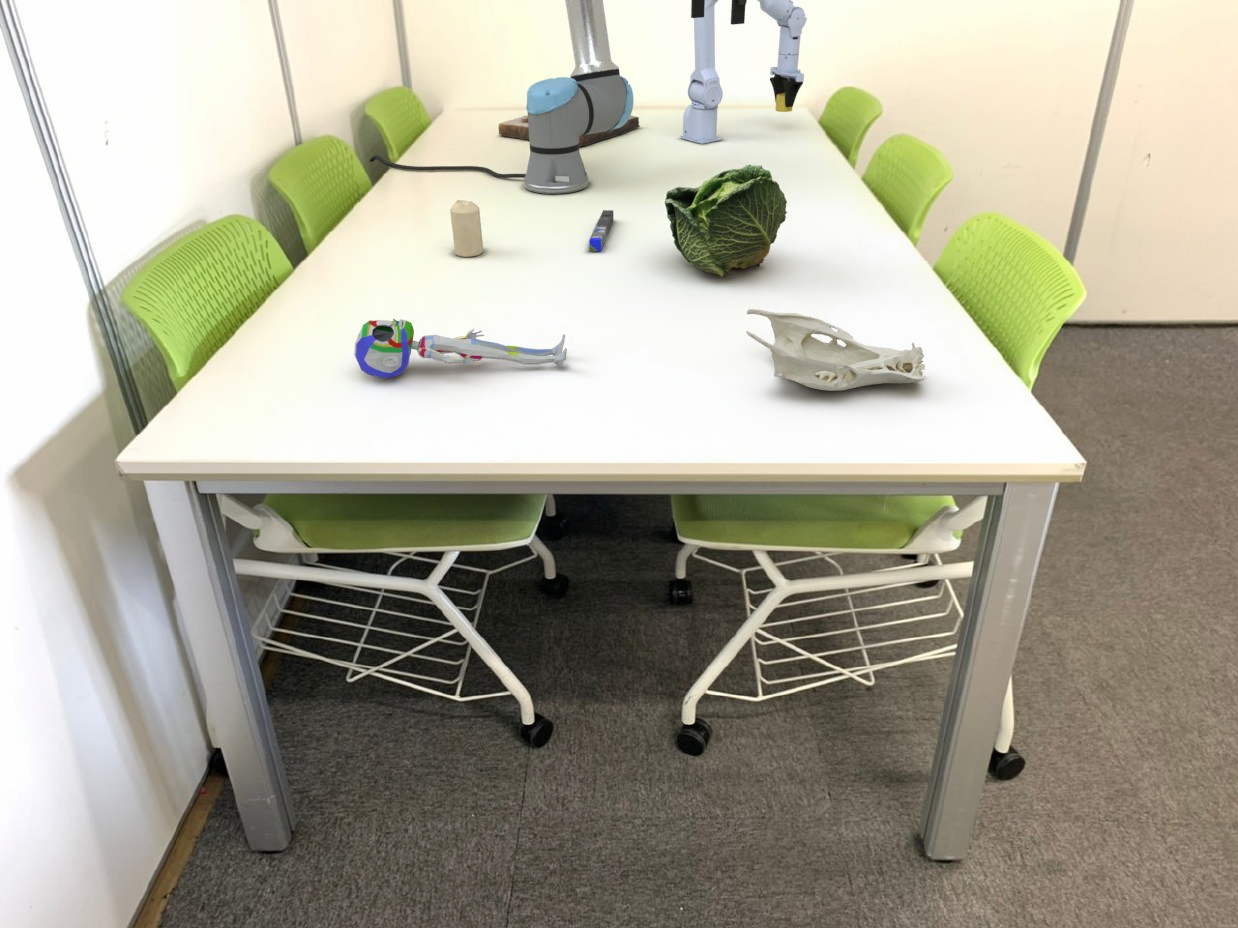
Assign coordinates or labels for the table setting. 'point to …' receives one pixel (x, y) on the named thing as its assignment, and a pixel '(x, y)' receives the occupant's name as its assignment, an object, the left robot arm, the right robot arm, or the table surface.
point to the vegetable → (727, 219)
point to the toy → (435, 349)
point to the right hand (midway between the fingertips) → (784, 105)
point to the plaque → (521, 131)
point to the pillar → (601, 230)
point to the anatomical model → (834, 356)
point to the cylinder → (782, 103)
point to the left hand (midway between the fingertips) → (717, 21)
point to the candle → (466, 228)
